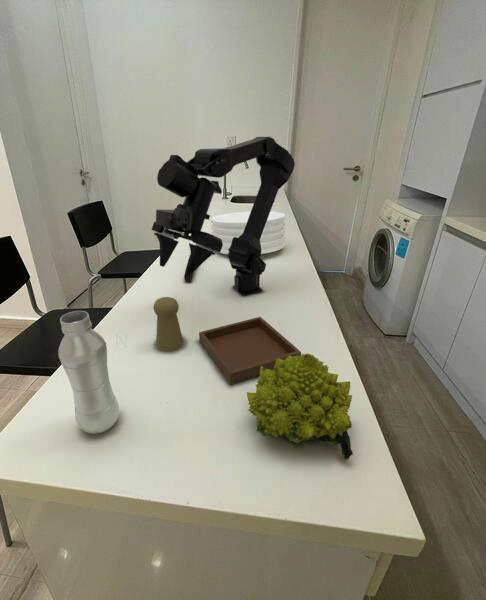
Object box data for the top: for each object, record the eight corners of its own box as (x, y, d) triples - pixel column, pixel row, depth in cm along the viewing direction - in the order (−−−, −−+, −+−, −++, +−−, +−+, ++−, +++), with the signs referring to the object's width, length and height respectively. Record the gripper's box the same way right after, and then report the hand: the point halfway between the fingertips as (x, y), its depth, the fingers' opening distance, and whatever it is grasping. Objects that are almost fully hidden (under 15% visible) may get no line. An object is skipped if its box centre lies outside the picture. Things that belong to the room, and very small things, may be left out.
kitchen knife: (183, 267, 101) (184, 282, 103) (190, 267, 101) (191, 282, 103) (197, 235, 133) (198, 247, 135) (202, 235, 132) (203, 247, 135)
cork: (179, 352, 70) (175, 307, 65) (152, 350, 72) (146, 305, 67) (186, 337, 76) (183, 294, 71) (161, 335, 77) (156, 292, 72)
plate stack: (201, 245, 137) (199, 217, 133) (258, 235, 147) (257, 209, 143) (235, 259, 113) (234, 225, 109) (300, 246, 124) (301, 215, 119)
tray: (259, 325, 79) (260, 316, 78) (300, 362, 66) (301, 352, 65) (199, 341, 74) (198, 332, 73) (230, 385, 61) (230, 374, 60)
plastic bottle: (84, 410, 57) (56, 307, 47) (124, 406, 57) (104, 304, 48) (73, 441, 51) (39, 331, 42) (118, 437, 51) (94, 327, 42)
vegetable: (390, 453, 43) (335, 361, 40) (283, 493, 47) (227, 411, 45) (357, 391, 57) (315, 320, 54) (277, 426, 61) (234, 361, 59)
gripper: (144, 187, 74) (123, 253, 76) (199, 195, 62) (172, 274, 63) (179, 205, 82) (159, 264, 84) (234, 216, 70) (210, 285, 72)
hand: (173, 271), depth 75 cm, fingers open, 9 cm apart
